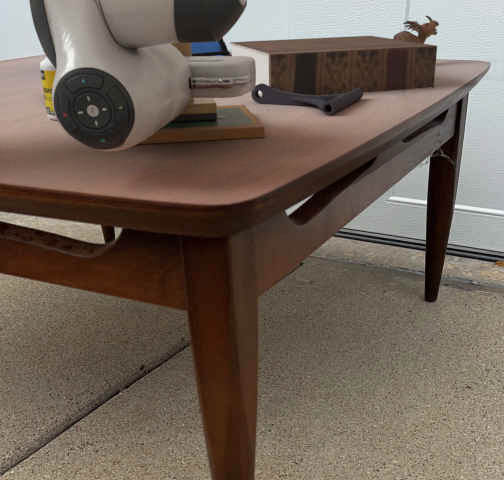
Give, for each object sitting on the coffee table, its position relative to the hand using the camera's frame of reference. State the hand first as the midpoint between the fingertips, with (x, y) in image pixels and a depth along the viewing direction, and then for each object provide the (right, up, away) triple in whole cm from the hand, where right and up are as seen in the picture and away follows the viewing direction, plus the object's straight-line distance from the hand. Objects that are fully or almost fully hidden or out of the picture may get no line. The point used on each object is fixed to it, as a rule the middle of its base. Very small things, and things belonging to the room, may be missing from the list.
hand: (180, 67), depth 84 cm
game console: (-1, +23, +66) cm, 70 cm away
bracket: (+16, 0, +16) cm, 23 cm away
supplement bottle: (-17, -3, +11) cm, 20 cm away
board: (0, -7, +2) cm, 7 cm away
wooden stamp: (0, -6, +2) cm, 6 cm away
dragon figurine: (+40, +19, +56) cm, 72 cm away
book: (+21, +9, +36) cm, 43 cm away
